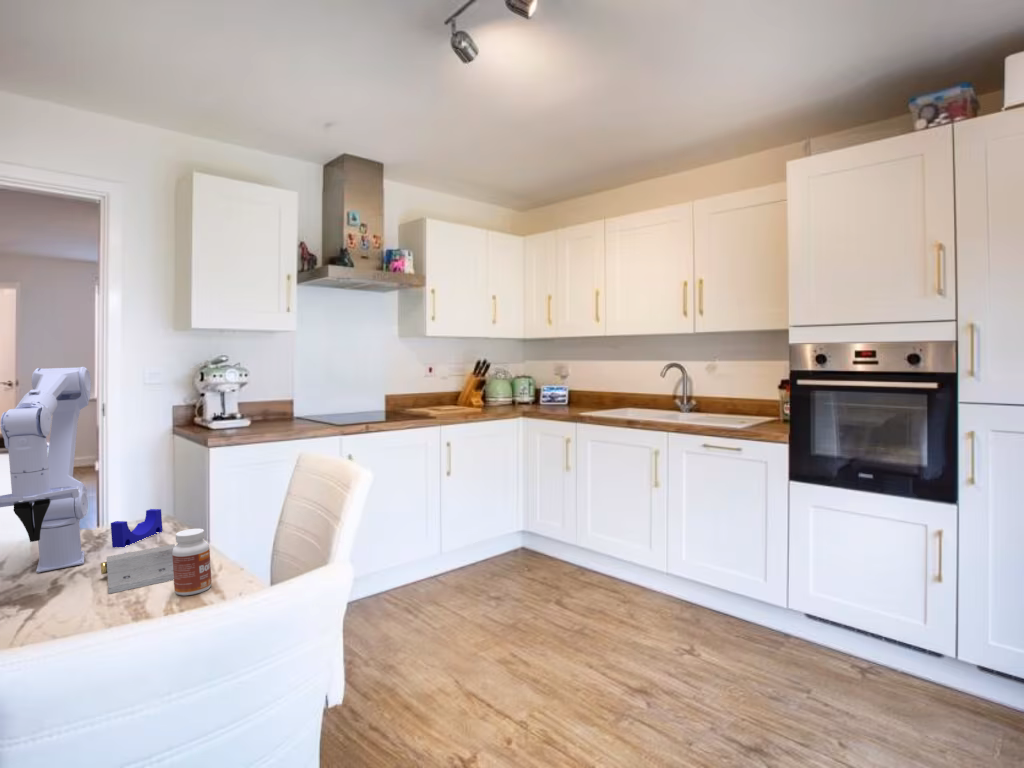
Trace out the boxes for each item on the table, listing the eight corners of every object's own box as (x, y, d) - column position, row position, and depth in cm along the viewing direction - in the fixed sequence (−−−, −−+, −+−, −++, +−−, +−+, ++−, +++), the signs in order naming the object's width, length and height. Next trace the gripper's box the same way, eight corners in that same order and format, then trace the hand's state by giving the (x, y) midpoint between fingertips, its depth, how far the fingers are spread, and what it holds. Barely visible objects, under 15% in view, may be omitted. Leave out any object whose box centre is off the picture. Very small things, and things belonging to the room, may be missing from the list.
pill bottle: (206, 594, 108) (203, 535, 107) (169, 598, 106) (165, 538, 106) (215, 581, 114) (212, 525, 113) (180, 585, 112) (177, 528, 112)
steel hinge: (108, 593, 109) (107, 573, 109) (107, 564, 125) (105, 546, 125) (181, 577, 116) (180, 558, 116) (171, 552, 132) (170, 535, 132)
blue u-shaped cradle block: (147, 532, 149) (145, 508, 149) (162, 532, 148) (161, 509, 148) (106, 548, 137) (105, 522, 137) (123, 548, 136) (121, 523, 136)
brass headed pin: (101, 576, 116) (100, 564, 116) (101, 572, 118) (100, 561, 117) (176, 560, 123) (176, 550, 123) (175, 557, 125) (174, 547, 125)
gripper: (-25, 479, 105) (-19, 553, 105) (76, 468, 113) (81, 537, 114) (-19, 473, 110) (-13, 544, 111) (77, 463, 119) (81, 528, 119)
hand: (35, 540), depth 113 cm, fingers closed
